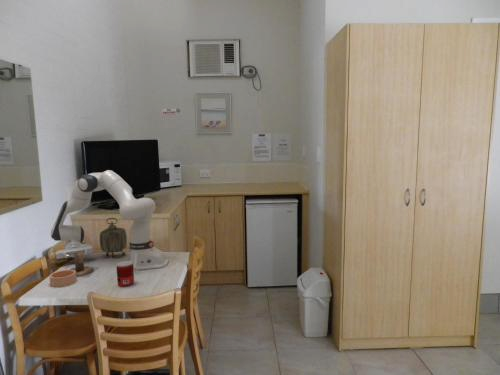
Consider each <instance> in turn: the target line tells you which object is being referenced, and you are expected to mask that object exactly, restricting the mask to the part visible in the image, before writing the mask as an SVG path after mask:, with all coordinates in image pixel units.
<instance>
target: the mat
mask: <svg viewBox="0 0 500 375" xmlns="http://www.w3.org/2000/svg"><path fill="white" fill-rule="evenodd" d="M92 267H93V268H94V271H93V272H92V273H90V274H88V275H84V276H78V277H77V278H89V277H91V276H92V275H93V274H94V273H95V272H97V271H98V270H99V269H100V266H92ZM73 268H74V267H71V268H70V269H73Z"/></svg>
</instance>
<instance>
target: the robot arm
mask: <svg viewBox="0 0 500 375" xmlns="http://www.w3.org/2000/svg"><path fill="white" fill-rule="evenodd" d="M103 190H106V191H107V192H108V193H109V195H111V196H112V197H113V199H114V200H116V201H115V202H117V204H118V206H119V215H120V217H121V219H123V220H124V221H133V222H132V224H131V225H130V228H129V241H130V242H129V247H128V248H129V253H130V255H129V261H132V262H133V270H134V271H136V270H137V271H140V270H150V269H160V268H165V267H166V266H167V265H168V264H169V260H168V258H165V256H164V255H165V254H164V252H163V251H161V250H160V249H159V248H158V247H156V246H154V243H155V242H154V240H151V236H150V225H151V221H152V217H153V213H154V212H155V211H156V202H155V201H154V200H153V199H152V198H150V197H141V198H135V196H134V195H133V188H132V186H130V184H128V182H126V181H125V180H124V179H123V178H122V177H121V176H120V175H119V174H117V173H116V172H114V170H110V169H107V170H105V171H101V172H91V173H85V174H83V175H81V176H79V178H78V179H77V180H76V181H75V183H74V185H73V188H72V191H71V195H70V198H69V199H68V200H66V201H65V202H64V203H63V204H62V205H61V208H60V211H59V213H58V216H57V218H56V220H55V223H54V225H53V227H52V228H51V230H50V237H51V239H52V240H54V241H56V242H57V241H59V242H60V241H64V243H63V248H64V249H58V250H56V252H54V255H55V256H56V260H59V259H70V258H75V257H74V253H76V252H83V256H86V255H91V254H94V252H95V251H94V246H93V245H91V244H89V242H84V239H85V230H84V228H83V227H82V226H81V225H75V224H74V225H73V224H72V225H71V224H70V225H69V224H64V223H65V220H66V218H67V215H68V214H71V213H73V212H78V211H82V210H85V209H86V208H88V206H89V205H90V204H91V200H92V194H93V192H99V191H103Z"/></svg>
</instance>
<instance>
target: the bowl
mask: <svg viewBox="0 0 500 375" xmlns="http://www.w3.org/2000/svg"><path fill="white" fill-rule="evenodd" d="M48 276H49V285H50V287H52V288H63V287H64V288H65V287H68V286H70V285H74V284H76V282H77V278H78V277H76V271H74V270H70V269H65V270H58V271H56V272H53V273H51V274H49V275H48Z"/></svg>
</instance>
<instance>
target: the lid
mask: <svg viewBox="0 0 500 375" xmlns="http://www.w3.org/2000/svg"><path fill="white" fill-rule="evenodd" d="M73 258H74V267H72V268H73V269H71V268H70V269H69V270H74V271H76V277H77V278H79V277H78V276H84V275H88V274H90V273H92V272H93V271H94V268H93V267H94V266H88V265H85V262H84V260H85V259H84V255H83V252H76V253H74V257H73Z"/></svg>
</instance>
